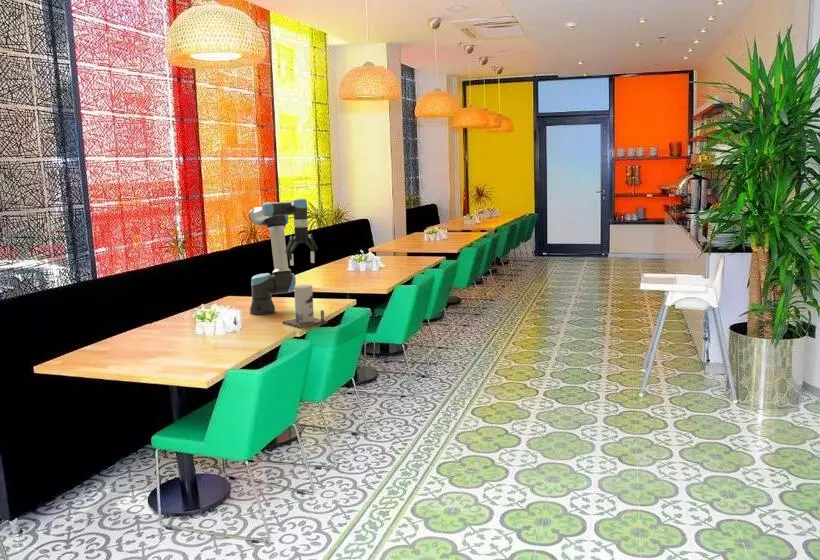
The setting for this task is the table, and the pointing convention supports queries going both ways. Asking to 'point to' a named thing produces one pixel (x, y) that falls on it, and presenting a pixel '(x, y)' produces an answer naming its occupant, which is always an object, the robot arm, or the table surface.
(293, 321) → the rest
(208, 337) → the table surface
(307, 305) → the container
